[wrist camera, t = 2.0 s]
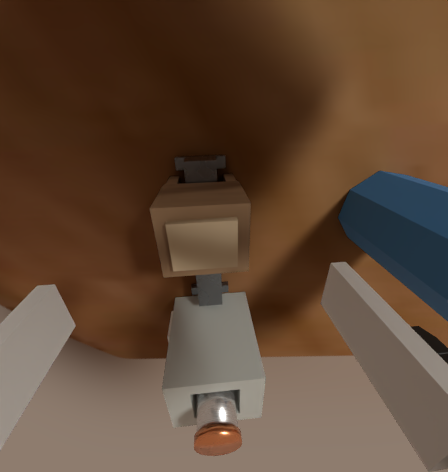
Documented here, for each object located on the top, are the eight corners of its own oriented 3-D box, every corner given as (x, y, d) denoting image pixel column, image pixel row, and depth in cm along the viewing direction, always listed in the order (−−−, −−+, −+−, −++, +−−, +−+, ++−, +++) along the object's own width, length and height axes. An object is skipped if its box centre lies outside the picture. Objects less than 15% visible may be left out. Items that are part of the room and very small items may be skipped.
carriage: (167, 176, 23) (147, 212, 14) (234, 173, 23) (252, 206, 15) (175, 228, 26) (162, 282, 17) (234, 224, 26) (249, 275, 18)
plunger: (194, 368, 24) (191, 438, 19) (233, 364, 24) (242, 432, 19) (197, 390, 26) (196, 458, 21) (234, 386, 27) (241, 452, 21)
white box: (172, 297, 31) (157, 389, 21) (245, 291, 32) (265, 378, 21) (179, 334, 35) (169, 427, 25) (244, 328, 36) (261, 417, 25)
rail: (175, 156, 22) (171, 162, 20) (224, 154, 23) (227, 159, 20) (192, 290, 31) (191, 306, 28) (227, 288, 31) (230, 303, 29)
